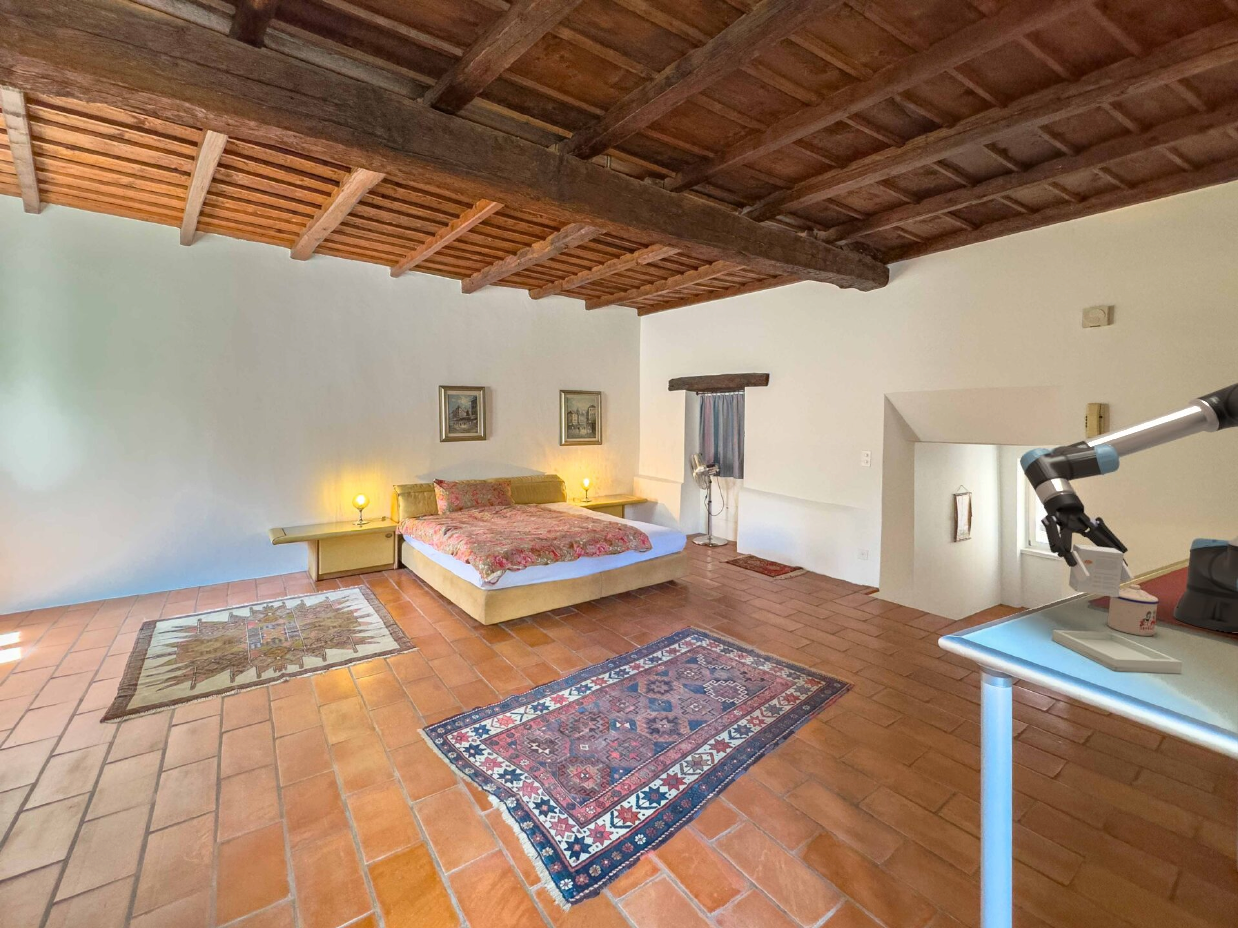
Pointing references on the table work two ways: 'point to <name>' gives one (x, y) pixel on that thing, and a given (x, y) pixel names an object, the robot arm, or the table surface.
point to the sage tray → (1117, 652)
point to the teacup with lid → (1133, 611)
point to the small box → (1098, 570)
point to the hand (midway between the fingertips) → (1106, 579)
